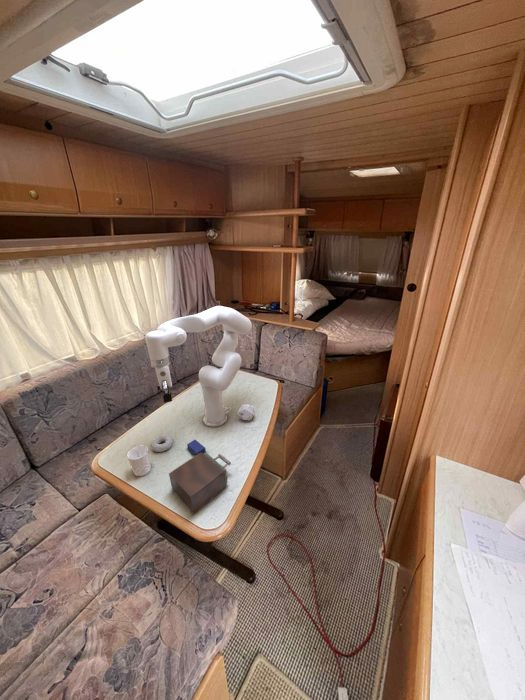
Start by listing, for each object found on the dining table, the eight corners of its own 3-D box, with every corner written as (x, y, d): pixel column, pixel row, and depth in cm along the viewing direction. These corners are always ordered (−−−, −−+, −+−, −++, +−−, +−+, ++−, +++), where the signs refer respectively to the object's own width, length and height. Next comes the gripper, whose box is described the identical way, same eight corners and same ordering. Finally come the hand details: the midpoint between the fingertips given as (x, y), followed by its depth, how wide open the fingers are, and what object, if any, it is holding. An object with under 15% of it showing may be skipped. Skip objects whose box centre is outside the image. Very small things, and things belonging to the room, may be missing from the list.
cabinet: (203, 467, 117) (201, 452, 113) (225, 487, 107) (223, 471, 104) (172, 489, 107) (168, 473, 104) (193, 514, 98) (190, 497, 94)
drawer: (216, 458, 120) (215, 445, 118) (237, 475, 112) (235, 462, 109) (179, 484, 108) (176, 471, 106) (199, 505, 100) (196, 492, 97)
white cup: (140, 480, 112) (135, 462, 108) (128, 472, 116) (123, 454, 112) (156, 467, 118) (151, 449, 114) (144, 460, 122) (140, 442, 118)
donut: (164, 455, 124) (177, 440, 132) (163, 450, 122) (176, 435, 131) (147, 451, 127) (160, 436, 136) (145, 445, 126) (159, 431, 134)
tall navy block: (187, 449, 127) (186, 444, 126) (195, 444, 130) (195, 439, 129) (197, 458, 122) (196, 452, 121) (205, 452, 125) (205, 447, 124)
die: (237, 415, 150) (233, 410, 142) (248, 403, 153) (245, 397, 144) (247, 426, 147) (244, 421, 138) (259, 413, 149) (256, 408, 141)
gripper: (171, 367, 106) (178, 404, 113) (167, 351, 121) (173, 384, 127) (151, 371, 103) (159, 408, 110) (149, 354, 118) (157, 388, 125)
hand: (167, 395), depth 119 cm, fingers open, 9 cm apart
